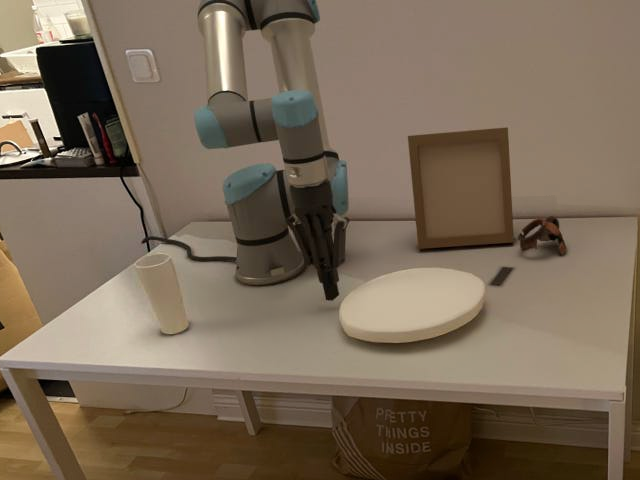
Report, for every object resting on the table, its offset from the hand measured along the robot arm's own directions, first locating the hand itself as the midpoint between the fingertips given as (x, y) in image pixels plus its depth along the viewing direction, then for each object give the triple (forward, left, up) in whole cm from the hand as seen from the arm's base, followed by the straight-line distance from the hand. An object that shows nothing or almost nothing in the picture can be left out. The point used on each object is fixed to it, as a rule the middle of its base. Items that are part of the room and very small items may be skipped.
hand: (332, 297), depth 143 cm
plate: (+18, 0, -3) cm, 18 cm away
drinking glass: (-28, -15, -3) cm, 32 cm away
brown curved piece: (+34, +35, -3) cm, 49 cm away
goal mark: (+29, +20, -3) cm, 35 cm away
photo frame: (+14, +39, -3) cm, 42 cm away
